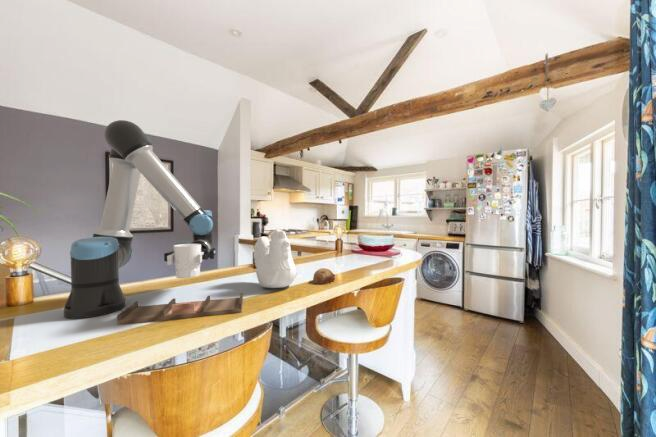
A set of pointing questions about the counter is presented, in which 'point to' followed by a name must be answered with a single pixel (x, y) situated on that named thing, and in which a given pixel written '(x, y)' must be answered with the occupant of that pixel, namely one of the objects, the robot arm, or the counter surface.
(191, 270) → the white cup
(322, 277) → the bread roll
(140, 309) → the brown compartment tray
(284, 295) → the counter surface
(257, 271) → the decorative rooster
